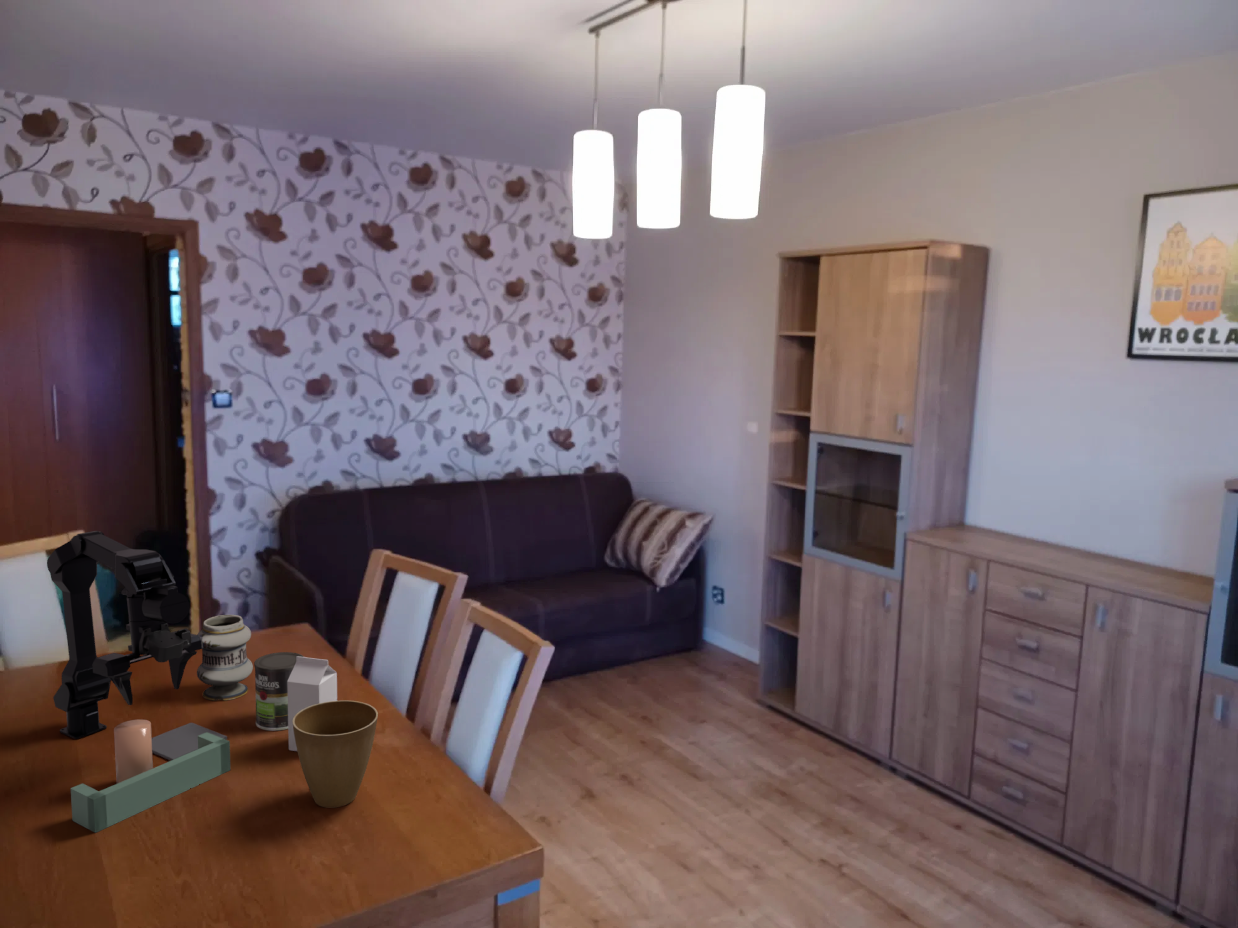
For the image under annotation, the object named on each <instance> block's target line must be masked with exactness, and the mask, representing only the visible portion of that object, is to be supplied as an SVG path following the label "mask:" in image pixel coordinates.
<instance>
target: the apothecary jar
mask: <svg viewBox="0 0 1238 928" xmlns="http://www.w3.org/2000/svg"><path fill="white" fill-rule="evenodd" d="M196 635H199V636H200V637H201V639H202V643H203V648H202V649H201V653H202V654H201V655H202V656H201V658H202V659H201V663H200V665H198V668H197V669H196V676H197V678H198V680H199V681H201V682H202V683H203V684H205V685H208V686H209V687H207V688H205V690H203V692H202V697H203V698H204V699H206V700H208V701H212V702H213V701H214V702H215V701H231V700H235V699H238V698H241V697H243V696H245V695H246V694H247V693H248V692H249V687H248V686H247V685H246V684H243V683H241V682H242V681H245V679H247V678H248V677H249V676H251V674H252V672H253V670H254V666H253V665H254V663H253V662H252V661H251V660H250V659H249V658H248V655H247V642H248V641H250V639H251V637H252V631H251V629H250V628H249V627H248V626H247V625H246V624H244V619H243V617H242V616H241V615H237V614H220V615H216V616H212V617H209V618H207V619H206V620H204V621H203V626H202V629H201V630H199V632H198V633H197V634H196Z"/></svg>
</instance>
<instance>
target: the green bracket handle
mask: <svg viewBox="0 0 1238 928" xmlns="http://www.w3.org/2000/svg"><path fill="white" fill-rule="evenodd" d="M230 743H231V742H230V740H228V739H226V740H225V739H223V738H220V737H218V736H215V735H213V734H210V733H208V732H206V733H204V734H201V735H199V736H198V749H197V750H195V751H193V752H190V753H188V754H186V755H183V756H181V757H179V758H176V759H174V760H172V761H170V760H168V761H167V762H165V763H162V764H160V765H158V766H156V767H153V769H151V770H148V771H146V772H143V773H141V774H139V775H136V776H134V777H132V778H129V779H127V780H125V781H122V782H120V783H118V784H117V783H116V784H114V785H111V786H108V787H107V788H104V789H101V790H99V791H98V790H96V789H95V788H93V787H91V786H89V785H88V784H87V785H86V784H85V783H80V784H77V785H75V786H73V787H70V799H71V802H70V803H71V817H72V820H71V821H73V822H74V823H76V824H77V825H80V826H82V827H84V828H86V829H88V830H89V831H90V832H93V833H95V834H97V833H99V832H100V831H103V830H104V829H107V828H110V827H111V826H113V825H115V824H117V823H118V824H119V823H120V822H122V821H124V820H126V819H129V818H130V817H134V816H135V815H138V814H139V813H142V812H143V811H146V810H148V809H150V808H152V807H155V806H156V805H159V804H160V803H162V802H165V801H167V800H169V799H172V798H173V797H176V796H178V795H180V794H182V793H184V792H186V791H189V790H191V789H194V788H195V787H197V786H199V784H200V785H202V784H204V783H206V782H208V781H210V780H213V779H215V778H216V777H217V778H218V777H219V776H220V775H223V774H225V773H228V772H229V771H231V744H230ZM190 788H191V789H190Z"/></svg>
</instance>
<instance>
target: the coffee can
mask: <svg viewBox="0 0 1238 928" xmlns="http://www.w3.org/2000/svg"><path fill="white" fill-rule="evenodd" d="M297 656H298V657H305V656H304V655H303V654H301V653H296V652H291V651H290V652H289V651H281V652H272V653H268V654H264V655H263V656H260V657H257V658H256V659H255V660H254V662H253V665H254V666H253V667H254V675H255V677H254V678H255V679H254V680H255V685H254V687H255V726H256V727H257V728H259V729H260V730H263V731H267V732H268V731H269V732H270V731H271V732H278V731H286V730H288V685H287V681H288V679H289V677H290V674H291V672H292V670H293V668H294V666H295V664H296V657H297Z"/></svg>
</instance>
